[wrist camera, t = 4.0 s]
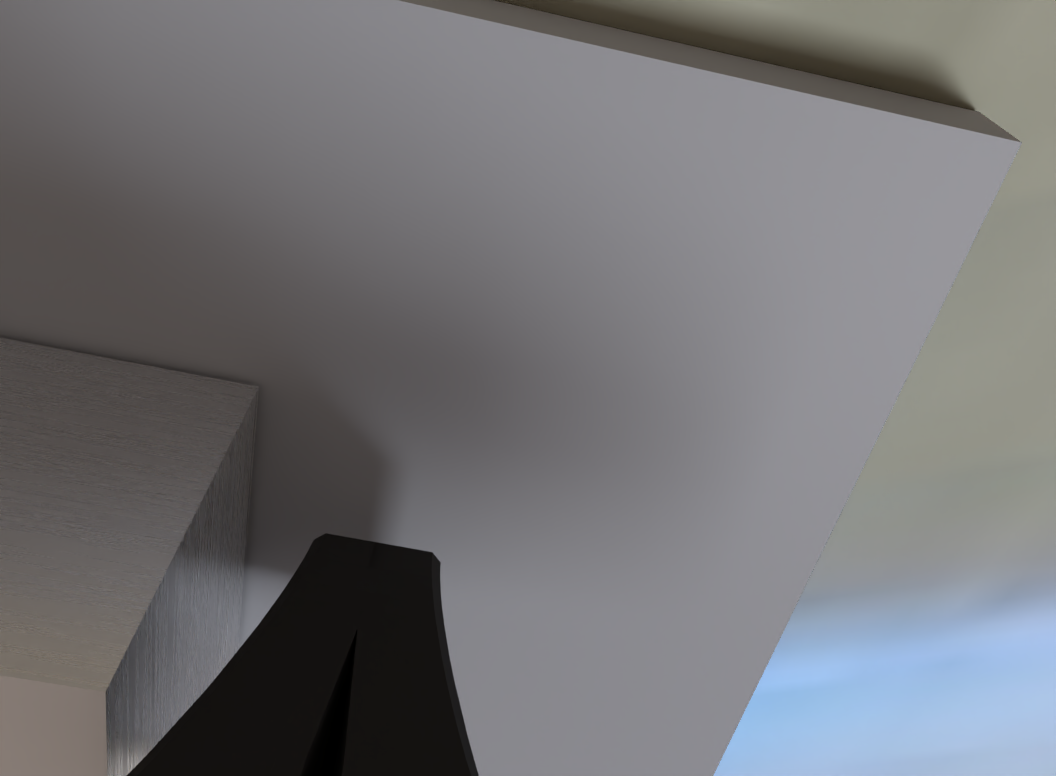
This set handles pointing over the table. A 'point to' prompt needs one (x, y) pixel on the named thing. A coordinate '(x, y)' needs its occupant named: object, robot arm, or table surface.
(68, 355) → the grey block
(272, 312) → the gauge board
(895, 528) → the table surface
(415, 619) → the robot arm
